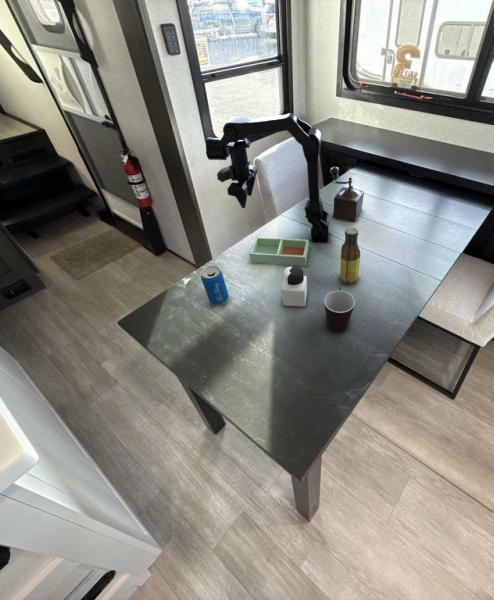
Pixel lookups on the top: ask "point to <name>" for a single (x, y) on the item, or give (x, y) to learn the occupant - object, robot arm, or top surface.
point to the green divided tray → (279, 251)
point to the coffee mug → (338, 309)
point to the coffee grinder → (347, 200)
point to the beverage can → (214, 285)
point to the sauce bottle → (350, 257)
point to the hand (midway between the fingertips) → (246, 201)
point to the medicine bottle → (294, 287)
